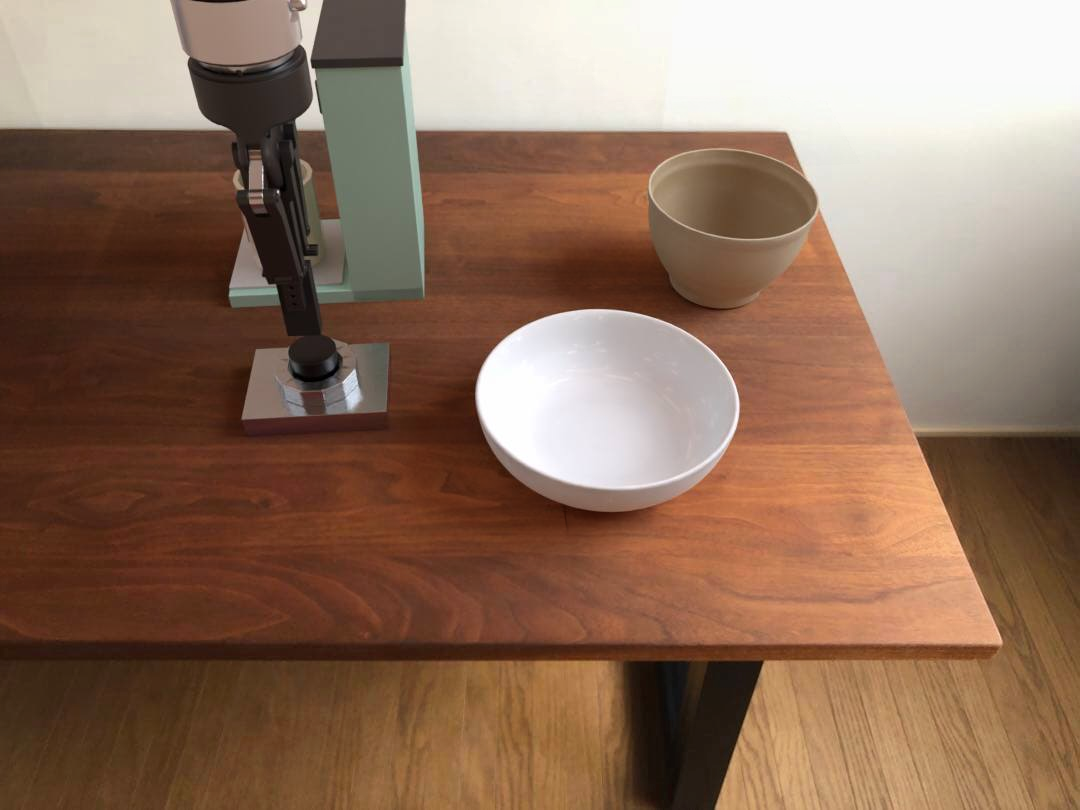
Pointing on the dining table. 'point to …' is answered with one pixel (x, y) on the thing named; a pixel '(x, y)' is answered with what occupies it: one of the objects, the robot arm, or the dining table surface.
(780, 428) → the dining table surface
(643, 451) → the serving bowl
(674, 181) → the planter bowl
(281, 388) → the button block
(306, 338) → the button
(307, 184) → the cup
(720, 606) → the dining table surface
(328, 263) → the coffee maker
